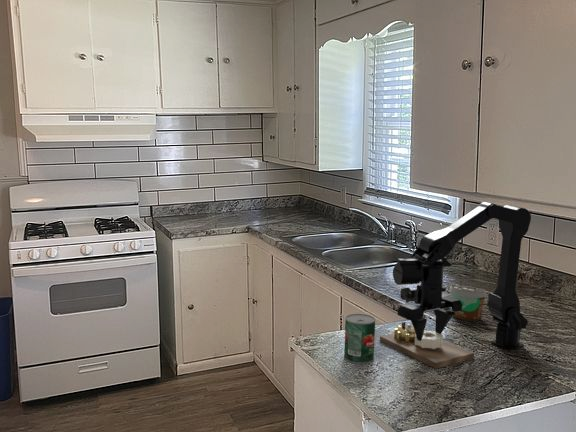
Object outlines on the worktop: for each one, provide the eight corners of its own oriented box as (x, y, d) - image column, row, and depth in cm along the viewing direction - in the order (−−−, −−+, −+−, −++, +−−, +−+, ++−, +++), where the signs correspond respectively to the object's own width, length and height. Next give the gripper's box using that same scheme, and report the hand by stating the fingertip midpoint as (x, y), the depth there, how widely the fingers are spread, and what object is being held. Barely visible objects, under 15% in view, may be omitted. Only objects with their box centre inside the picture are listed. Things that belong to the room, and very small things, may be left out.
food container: (440, 315, 194) (442, 286, 192) (449, 311, 198) (451, 282, 196) (476, 324, 185) (478, 293, 184) (485, 320, 190) (487, 290, 188)
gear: (408, 331, 174) (409, 318, 173) (427, 339, 167) (427, 326, 167) (388, 336, 170) (389, 322, 169) (406, 344, 164) (407, 330, 163)
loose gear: (428, 337, 167) (429, 328, 166) (448, 345, 161) (448, 336, 160) (408, 341, 163) (409, 333, 163) (428, 350, 157) (428, 341, 156)
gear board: (416, 332, 177) (417, 315, 176) (473, 358, 159) (475, 338, 158) (379, 341, 170) (380, 322, 169) (435, 368, 152) (436, 348, 151)
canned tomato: (343, 352, 162) (344, 313, 160) (372, 352, 161) (373, 313, 160) (344, 363, 154) (346, 323, 152) (375, 364, 153) (377, 323, 152)
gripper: (435, 271, 171) (432, 324, 173) (385, 279, 161) (382, 334, 164) (465, 280, 161) (461, 335, 164) (413, 290, 152) (410, 348, 154)
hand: (428, 338), depth 162 cm, fingers closed on loose gear, 6 cm apart
